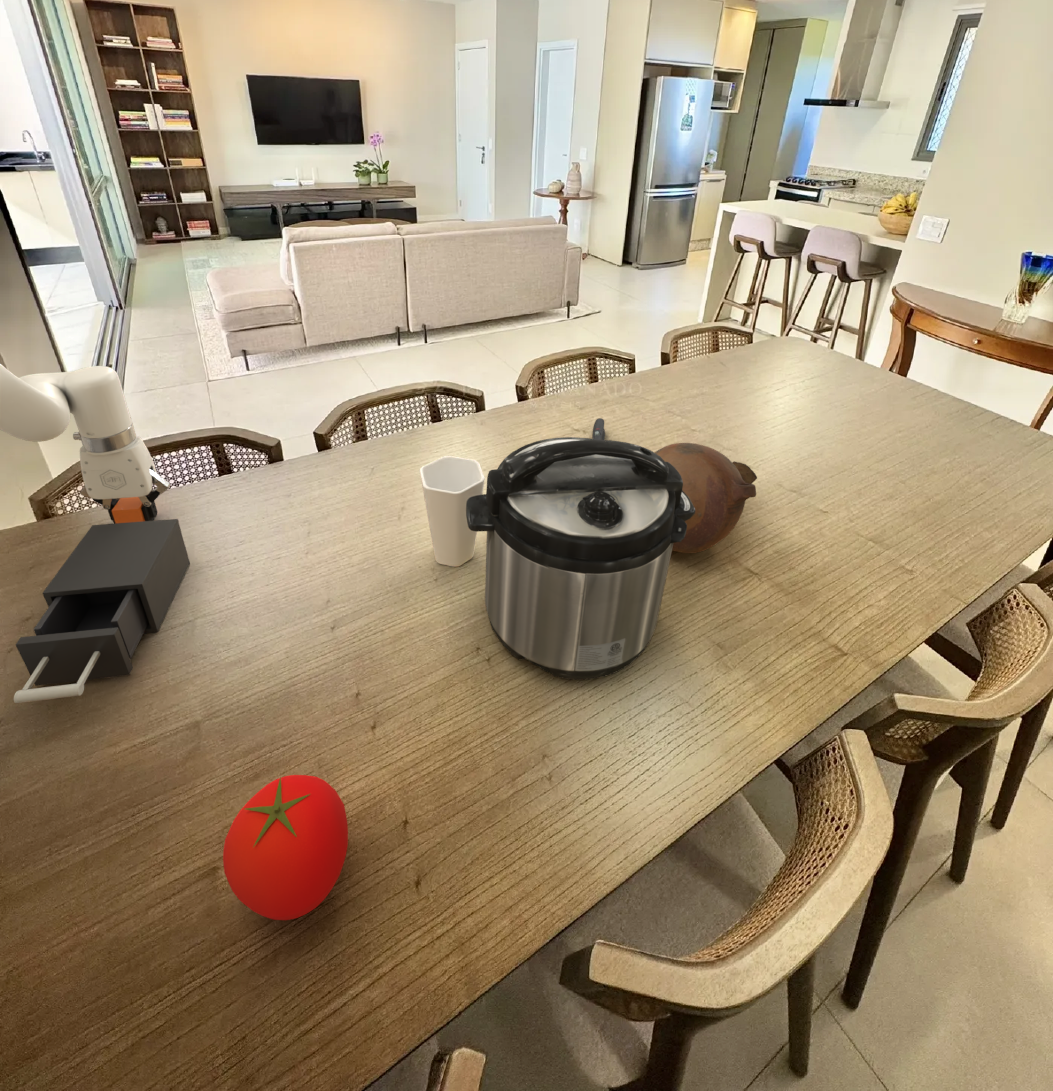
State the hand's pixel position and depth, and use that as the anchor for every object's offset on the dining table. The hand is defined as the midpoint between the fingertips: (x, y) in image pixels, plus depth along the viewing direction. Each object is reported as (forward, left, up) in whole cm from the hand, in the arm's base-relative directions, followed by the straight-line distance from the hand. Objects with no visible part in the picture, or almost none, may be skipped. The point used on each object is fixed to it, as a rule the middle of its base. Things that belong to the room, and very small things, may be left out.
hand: (136, 520), depth 110 cm
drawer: (+22, -24, +1) cm, 32 cm away
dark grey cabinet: (+16, -14, 0) cm, 21 cm away
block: (0, 0, 0) cm, 0 cm away
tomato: (+65, -35, -1) cm, 74 cm away
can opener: (+73, +60, -1) cm, 95 cm away
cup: (+58, +15, -1) cm, 60 cm away
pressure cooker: (+81, +10, -1) cm, 82 cm away
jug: (+98, +40, -1) cm, 106 cm away
